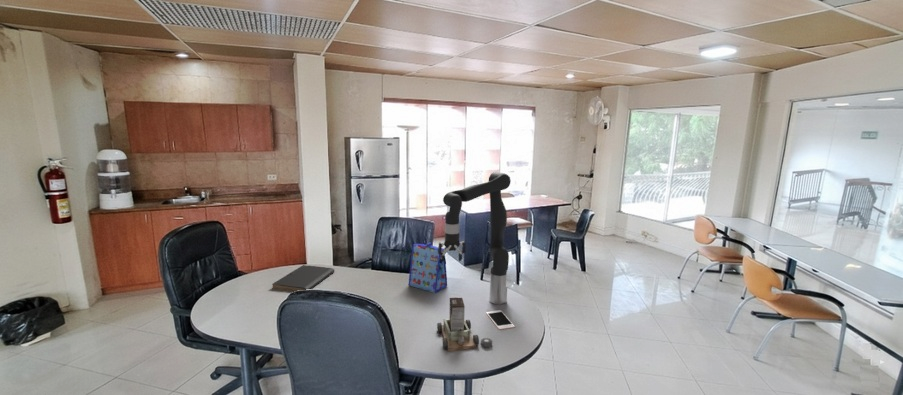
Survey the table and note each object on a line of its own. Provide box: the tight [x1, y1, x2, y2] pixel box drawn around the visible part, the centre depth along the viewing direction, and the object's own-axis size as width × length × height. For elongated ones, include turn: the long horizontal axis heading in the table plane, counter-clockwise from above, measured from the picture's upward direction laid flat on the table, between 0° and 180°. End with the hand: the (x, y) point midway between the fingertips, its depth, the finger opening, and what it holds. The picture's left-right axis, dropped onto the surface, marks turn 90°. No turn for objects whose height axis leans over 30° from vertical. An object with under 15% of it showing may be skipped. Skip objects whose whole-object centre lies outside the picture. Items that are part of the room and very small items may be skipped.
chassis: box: [436, 318, 480, 352], centre depth 176 cm, size 16×20×6 cm
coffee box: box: [449, 297, 466, 332], centre depth 177 cm, size 9×6×16 cm
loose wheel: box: [480, 337, 493, 349], centre depth 171 cm, size 5×5×2 cm
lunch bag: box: [408, 242, 448, 294], centre depth 232 cm, size 22×14×29 cm, turn 58°
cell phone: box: [485, 309, 516, 331], centre depth 194 cm, size 9×18×1 cm, turn 16°
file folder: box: [272, 264, 335, 292], centre depth 241 cm, size 33×4×24 cm
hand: (451, 261), depth 194 cm, fingers open, 8 cm apart
